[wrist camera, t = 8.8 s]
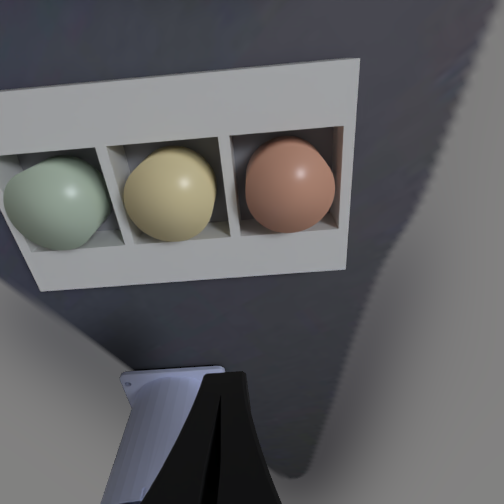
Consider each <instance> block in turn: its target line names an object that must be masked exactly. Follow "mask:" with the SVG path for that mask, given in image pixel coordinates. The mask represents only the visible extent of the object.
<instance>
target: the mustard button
mask: <svg viewBox="0 0 504 504" xmlns="http://www.w3.org/2000/svg"><path fill="white" fill-rule="evenodd" d="M216 193H217V181H216V177H215V174H214V171H213V169H212V167H211V166H210V164H209V163H208V162H207V161H206V160H205V159H204V158H203V157H202V156H201V155H200V154H198V153H197V152H195V151H193V150H191V149H189V148H186V147H182V146H165V147H162V148H159V149H157V150H155V151H153V152H152V153H151V154H150V155H148V156H147V157H146V158H145V159H144V160H143V161H142V162H141V163H140V164H139V165H138V166H137V167H136V168H135V169H134V170H133V172H132V173H131V174H130V175H129V177H128V179H127V181H126V184H125V187H124V204H125V208H126V210H127V213H128V215H129V217H130V218H131V220H132V221H133V222H134V224H135V225H136V226H137V227H138V228H139V229H140V230H142V231H143V232H144V233H146V234H148V235H149V236H151V237H153V238H156V239H159V240H162V241H169V242H179V241H184V240H188V239H190V238H193V237H194V236H196V235H198V234H199V233H200V232H201V231H202V230H203V229H204V228H205V227H206V226H207V224H208V222H209V221H210V218H211V215H212V211H213V207H214V202H215V198H216Z"/></svg>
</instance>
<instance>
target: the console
mask: <svg viewBox="0 0 504 504" xmlns="http://www.w3.org/2000/svg"><path fill="white" fill-rule="evenodd" d="M359 67H360V58H338V59H327V60H316V61H306V62H295V63H284V64H274V65H263V66H252V67H241V68H231V69H220V70H209V71H199V72H188V73H177V74H167V75H156V76H145V77H134V78H124V79H113V80H102V81H92V82H81V83H70V84H60V85H49V86H38V87H28V88H17V89H6V90H0V210H1V212H2V214H3V216H4V218H5V220H6V222H7V224H8V226H9V228H10V230H11V232H12V234H13V236H14V238H15V240H16V242H17V244H18V246H19V248H20V250H21V252H22V254H23V256H24V258H25V260H26V262H27V264H28V266H29V268H30V271H31V273H32V275H33V277H34V279H35V281H36V283H37V285H38V287H39V289H40V291H55V290H68V289H82V288H96V287H110V286H123V285H137V284H151V283H165V282H178V281H192V280H206V279H220V278H233V277H247V276H261V275H275V274H288V273H302V272H316V271H330V270H343V269H346V256H347V241H348V227H349V212H350V198H351V183H352V168H353V154H354V139H355V125H356V110H357V96H358V81H359ZM280 136H295V137H298V138H301V139H304V140H306V141H307V142H309V143H310V144H312V145H313V146H314V147H315V148H316V149H317V151H318V152H319V154H320V155H321V156H322V158H323V159H324V160H325V162H326V163H327V165H328V166H329V168H330V169H331V172H332V174H333V177H334V182H335V194H334V199H333V202H332V205H331V207H330V209H329V210H328V212H327V213H326V215H325V216H324V217H323V218H322V219H321V220H320V221H319V222H318V223H316V224H315V225H313V226H312V227H310V228H308V229H306V230H303V231H299V232H295V233H280V232H276V231H273V230H270V229H268V228H266V227H264V226H263V225H261V224H260V223H259V222H258V221H257V220H256V219H255V218H254V217H253V215H252V214H251V212H250V210H249V208H248V205H247V202H246V194H245V188H246V169H247V165H248V162H249V160H250V158H251V156H252V155H253V153H254V152H255V151H256V149H257V148H258V147H259V146H261V145H262V144H263V143H265V142H266V141H268V140H270V139H273V138H276V137H280ZM165 146H182V147H186V148H189V149H191V150H193V151H195V152H197V153H198V154H200V155H201V156H202V157H203V158H204V159H205V160H206V161H207V162H208V163H209V164H210V166H211V167H212V169H213V171H214V174H215V177H216V181H217V193H216V198H215V202H214V207H213V211H212V215H211V218H210V221H209V222H208V224H207V226H206V227H205V228H204V229H203V230H202V231H201V232H200V233H199V234H198V235H196V236H194V237H193V238H190V239H188V240H184V241H179V242H169V241H162V240H159V239H156V238H153V237H151V236H149V235H148V234H146V233H144V232H143V231H142V230H140V229H139V228H138V227H137V226H136V225H135V224H134V222H133V221H132V220H131V218H130V217H129V215H128V213H127V210H126V208H125V204H124V187H125V184H126V181H127V179H128V177H129V175H130V174H131V173H132V172H133V170H134V169H135V168H136V167H137V166H138V165H139V164H140V163H141V162H142V161H143V160H144V159H145V158H146V157H147V156H148V155H150V154H151V153H152V152H153V151H155V150H157V149H159V148H162V147H165ZM58 155H67V156H73V157H77V158H79V159H82V160H84V161H86V162H88V163H89V164H91V165H92V166H94V167H95V168H96V169H97V170H98V171H99V172H100V173H101V174H102V175H103V176H104V178H105V181H106V185H107V188H108V191H109V194H110V198H111V201H112V204H113V205H112V210H111V212H110V214H109V216H108V218H107V219H106V220H105V221H104V222H103V223H102V225H101V226H100V227H99V228H98V229H97V230H96V231H95V233H94V234H93V235H92V236H91V237H90V238H89V240H88V241H87V242H85V243H84V244H83V245H81V246H80V247H77V248H75V249H71V250H53V249H48V248H45V247H42V246H40V245H37V244H35V243H34V242H32V241H30V240H29V239H27V238H26V237H25V236H23V235H22V234H21V233H20V232H19V231H18V230H17V229H16V228H15V227H14V226H13V224H12V223H11V221H10V220H9V218H8V216H7V214H6V211H5V208H4V202H3V194H4V190H5V187H6V185H7V183H8V182H9V181H10V179H11V178H12V177H14V176H15V175H16V174H18V173H20V172H22V171H24V170H26V169H28V168H30V167H32V166H34V165H36V164H38V163H40V162H42V161H44V160H46V159H48V158H50V157H53V156H58Z"/></svg>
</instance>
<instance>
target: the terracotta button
mask: <svg viewBox="0 0 504 504" xmlns="http://www.w3.org/2000/svg"><path fill="white" fill-rule="evenodd" d="M245 194H246V202H247V205H248V208H249V210H250V212H251V214H252V215H253V217H254V218H255V219H256V220H257V221H258V222H259V223H260V224H261V225H263V226H264V227H266V228H268V229H270V230H273V231H276V232H280V233H295V232H299V231H303V230H306V229H308V228H310V227H312V226H313V225H315V224H316V223H318V222H319V221H320V220H321V219H322V218H323V217H324V216H325V215H326V213H327V212H328V210H329V209H330V207H331V205H332V202H333V199H334V194H335V182H334V177H333V174H332V172H331V169H330V168H329V166H328V165H327V163H326V162H325V160H324V159H323V158H322V156H321V155H320V154H319V152H318V151H317V149H316V148H315V147H314V146H313V145H312V144H310V143H309V142H307V141H306V140H304V139H301V138H298V137H295V136H280V137H276V138H273V139H270V140H268V141H266V142H265V143H263V144H262V145H261V146H259V147H258V148H257V149H256V151H255V152H254V153H253V155H252V156H251V158H250V160H249V162H248V165H247V169H246V188H245Z"/></svg>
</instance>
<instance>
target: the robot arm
mask: <svg viewBox="0 0 504 504" xmlns="http://www.w3.org/2000/svg"><path fill="white" fill-rule="evenodd" d="M120 381H121V384H122V386H123V389H124V391H125V393H126V396H127V398H128V401H129V403H130V405H131V408H132V410H131V413H130V416H129V419H128V422H127V425H126V428H125V431H124V434H123V437H122V440H121V443H120V446H119V449H118V452H117V455H116V458H115V461H114V464H113V467H112V470H111V473H110V476H109V480H108V482H107V485H106V488H105V492H104V495H103V498H102V501H101V504H282V503H281V501H280V498H279V496H278V493H277V491H276V489H275V486H274V484H273V481H272V478H271V476H270V473H269V470H268V467H267V464H266V462H265V459H264V456H263V453H262V450H261V447H260V444H259V440H258V437H257V433H256V430H255V426H254V423H253V419H252V415H251V407H250V400H249V392H248V385H247V377H246V373H244V372H243V371H240V372H225V370H224V368H223V367H221V366H205V367H190V368H174V369H159V370H143V371H127V372H123V373H122V374H121V376H120Z"/></svg>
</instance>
